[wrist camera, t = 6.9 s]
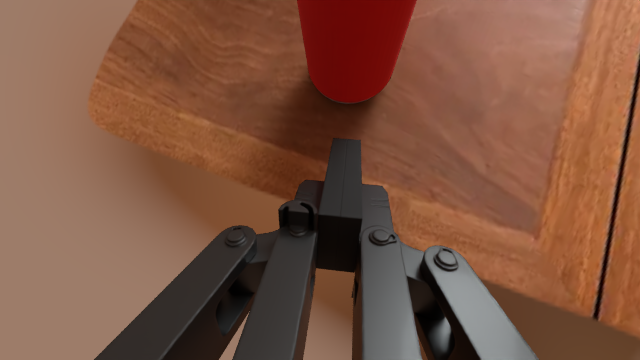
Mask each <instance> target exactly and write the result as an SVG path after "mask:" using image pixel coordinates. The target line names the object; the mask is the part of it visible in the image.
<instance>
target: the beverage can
mask: <svg viewBox="0 0 640 360" xmlns="http://www.w3.org/2000/svg"><path fill="white" fill-rule="evenodd" d="M416 1H417V0H297V3H298V9H299V15H300V22H301V28H302V34H303V40H304V46H305V52H306V58H307V65H308V71H309V75H310V78H311V80H312V82H313V84H314V86H315V87H316V89H317V90H318V91H319V92H320V93H321V94H322V95H323V96H325V97H326V98H328V99H330V100H332V101H334V102H338V103H343V104H355V103H360V102H363V101H366V100H368V99H370V98H372V97H373V96H375V95H376V94H377V93H379V92H380V91H381V90H382V89H383V88H384V87H385V86H386V85H387V83H388V82H389V80H390V78H391V75H392V73H393V70H394V67H395V64H396V61H397V58H398V55H399V52H400V49H401V46H402V43H403V40H404V37H405V34H406V31H407V28H408V25H409V22H410V19H411V16H412V13H413V10H414V7H415V4H416Z"/></svg>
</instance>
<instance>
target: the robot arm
mask: <svg viewBox="0 0 640 360" xmlns="http://www.w3.org/2000/svg"><path fill="white" fill-rule="evenodd" d="M388 201H389V200H388V194H387V192H386V190H385V189H384V188H383V187H382V186H378V185H367V184H362V175H361V140H353V139H339V138H333V141H332V146H331V151H330V156H329V162H328V167H327V172H326V177H325V181H314V180H304V181H303V182H302V183H301V184H300V185H299V187H298V190H297V193H296V195H295V199H294V200H292V201H288V202H286V203H284V204H283V205H281V207H280V208H279V210H278V211H279V225H280V228H279V229H278V230H276V231H273V232H269V233H264V234H257V235H256V233H255V232H254V230H253V229H252V228H249V227H248V226H240V225H239V226H232V227H230V228H227V229H225V230H224V231H222V232H221V233H220V234H219V235H218V236H217V237H216V238H215V239H214V240H213V241H212V242H211V243H210V244H209V245H208V246H207V247H206V248H205V249H204V250H203V251H202V252H201V253H200V254H199V255H198V256H197V257H196V258H195V259H194V260H193V261H192V262H191V263H190V264H189V265H188V266H187V267H186V268H185V269H184V270H183V271H182V272H181V273H180V274H179V275H178V276H177V277H176V278H175V279H174V280H173V281H172V282H171V283H170V284H169V285H168V286H167V287H166V288H165V289H164V290H163V291H162V292H161V293H160V294H159V295H158V296H157V297H156V298H155V299H154V300H153V301H152V302H151V303H150V304H149V305H148V306H147V307H146V308H145V309H144V310H143V311H142V312H141V313H140V314H139V315H138V316H137V317H136V318H135V319H134V320H133V321H132V322H131V323H130V324H129V325H128V326H127V327H126V328H125V329H124V330H123V331H122V332H121V333H120V334H119V335H118V336H117V337H116V338H115V339H114V340H113V341H112V342H111V343H110V344H109V345H108V346H107V347H106V348H105V349H104V350H103V351H102V352H101V353H100V354H99V355H98V356H97V357H96V358H95V359H94V360H219V358H220V357H221V355H222V354H223V352H224V350H225V349H226V347H227V346H228V344H229V343H230V341H231V339H232V338H233V336H234V335H235V333H236V332H237V330H238V328H239V326H240V325H241V324H242V322H243V320H244V319H245V317H246V316H247V314H248V313H249V315H248V317H247V320H246V323H245V326H244V329H243V331H242V334H241V337H240V340H239V343H238V345H237V348H236V351H235V354H234V356H233V359H232V360H303V355H304V349H305V342H306V336H307V330H308V323H309V317H310V310H311V303H312V297H313V291H314V285H315V271H316V268H319V269H328V270H336V271H345V272H353V273H354V272H355V278H354V285H353V292H352V298H353V339H352V340H353V341H352V360H422V357H421V352H420V347H419V341H418V337H419V339H420V342H421V344H422V346H423V349H424V351H425V353H426V356H427V358H428V360H539V359H538V358H537V356H536V355H535V354H534V352H533V351H532V350H531V348H530V347H529V345H528V344H527V343H526V341H525V340H524V339H523V338H522V336H521V335H520V333H519V332H518V330H517V329H516V328H515V326H514V325H513V324H512V322H511V321H510V320H509V318H508V317H507V315H506V314H505V313H504V311H503V310H502V309H501V307H500V306H499V305H498V303H497V302H496V300H495V299H494V298H493V296H492V295H491V294H490V292H489V291H488V290H487V288H486V287H485V286H484V284H483V283H482V281H481V280H480V279H479V277H478V276H477V275H476V273H475V272H474V271H473V269H472V268H471V266H470V265H469V264H468V262H467V261H466V260H465V259H464V258H463V257H462V256H461V255H460V254H459V253H458V252H456V251H454V250H453V249H451V248H448V247H445V246H432V247H429V248H428V249H427V250H425V252H423V251H420V250H417V249H414V248H412V247H409V246H407V245H405V244H404V243H402V242H401V241H400V239H399V237H398V235H397V234H396V233H395V232H394V230H393V224H392V218H391V212H390V208H389V207H390V206H389V202H388ZM249 311H250V312H249ZM417 334H418V336H417Z"/></svg>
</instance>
